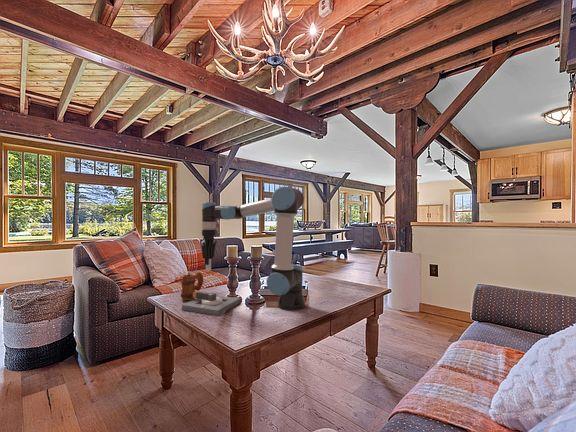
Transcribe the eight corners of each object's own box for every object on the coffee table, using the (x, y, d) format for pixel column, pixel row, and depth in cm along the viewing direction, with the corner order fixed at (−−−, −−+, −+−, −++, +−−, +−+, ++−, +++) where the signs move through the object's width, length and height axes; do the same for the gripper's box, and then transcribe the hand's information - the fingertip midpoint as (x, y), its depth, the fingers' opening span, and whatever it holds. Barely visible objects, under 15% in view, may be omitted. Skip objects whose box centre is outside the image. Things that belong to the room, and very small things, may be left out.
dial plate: (239, 302, 165) (240, 297, 165) (217, 315, 144) (217, 309, 144) (207, 298, 173) (207, 293, 173) (181, 309, 152) (182, 304, 152)
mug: (185, 302, 164) (185, 276, 163) (176, 300, 168) (177, 274, 168) (206, 297, 175) (206, 272, 175) (198, 294, 180) (198, 270, 180)
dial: (226, 302, 162) (226, 292, 162) (214, 308, 152) (214, 298, 151) (200, 298, 168) (200, 289, 168) (187, 303, 158) (187, 294, 158)
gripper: (210, 228, 174) (209, 267, 174) (196, 229, 161) (195, 271, 162) (220, 228, 171) (220, 268, 171) (207, 229, 159) (206, 272, 159)
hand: (208, 270), depth 167 cm, fingers closed
